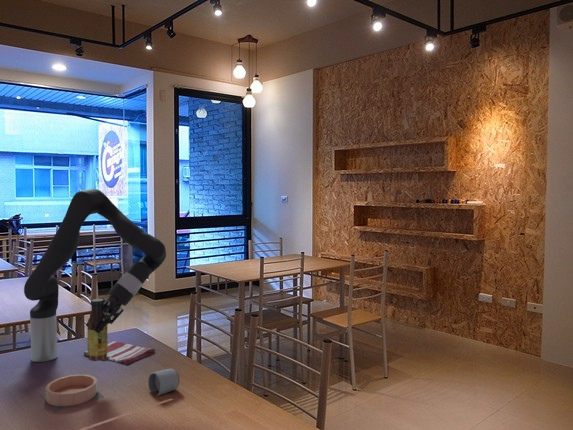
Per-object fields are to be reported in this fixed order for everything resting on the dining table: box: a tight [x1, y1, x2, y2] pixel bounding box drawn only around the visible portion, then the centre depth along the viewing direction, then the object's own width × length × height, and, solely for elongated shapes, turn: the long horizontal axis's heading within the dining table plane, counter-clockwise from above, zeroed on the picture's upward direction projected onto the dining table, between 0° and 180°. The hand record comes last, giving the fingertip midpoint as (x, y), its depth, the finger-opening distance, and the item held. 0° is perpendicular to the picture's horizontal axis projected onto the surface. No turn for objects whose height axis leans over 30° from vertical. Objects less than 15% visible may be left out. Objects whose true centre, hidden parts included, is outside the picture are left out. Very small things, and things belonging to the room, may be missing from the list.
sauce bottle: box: [87, 298, 109, 362], centre depth 159 cm, size 7×6×20 cm
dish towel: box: [83, 340, 156, 366], centre depth 194 cm, size 17×23×3 cm
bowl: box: [44, 373, 99, 407], centre depth 154 cm, size 15×15×4 cm
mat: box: [40, 390, 105, 413], centre depth 154 cm, size 15×15×1 cm
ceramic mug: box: [147, 368, 180, 397], centre depth 160 cm, size 11×8×8 cm
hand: (92, 329), depth 158 cm, fingers closed on sauce bottle, 6 cm apart
